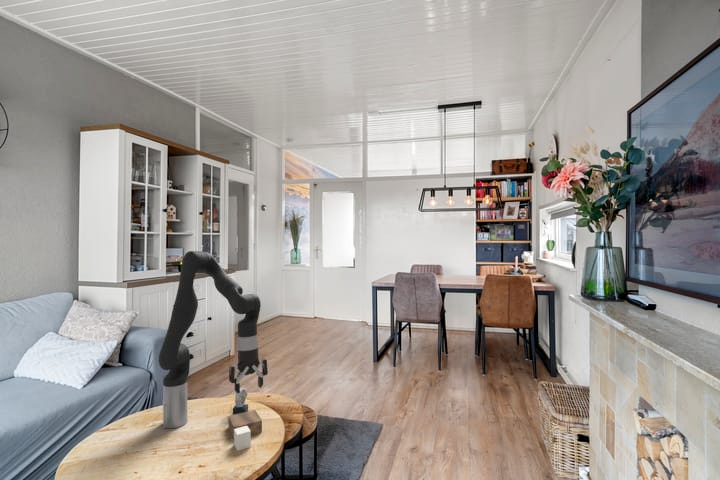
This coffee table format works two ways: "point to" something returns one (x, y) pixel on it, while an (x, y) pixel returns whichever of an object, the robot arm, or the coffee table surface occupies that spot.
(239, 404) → the watch
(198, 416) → the coffee table surface
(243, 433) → the cream block
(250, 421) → the walnut block
